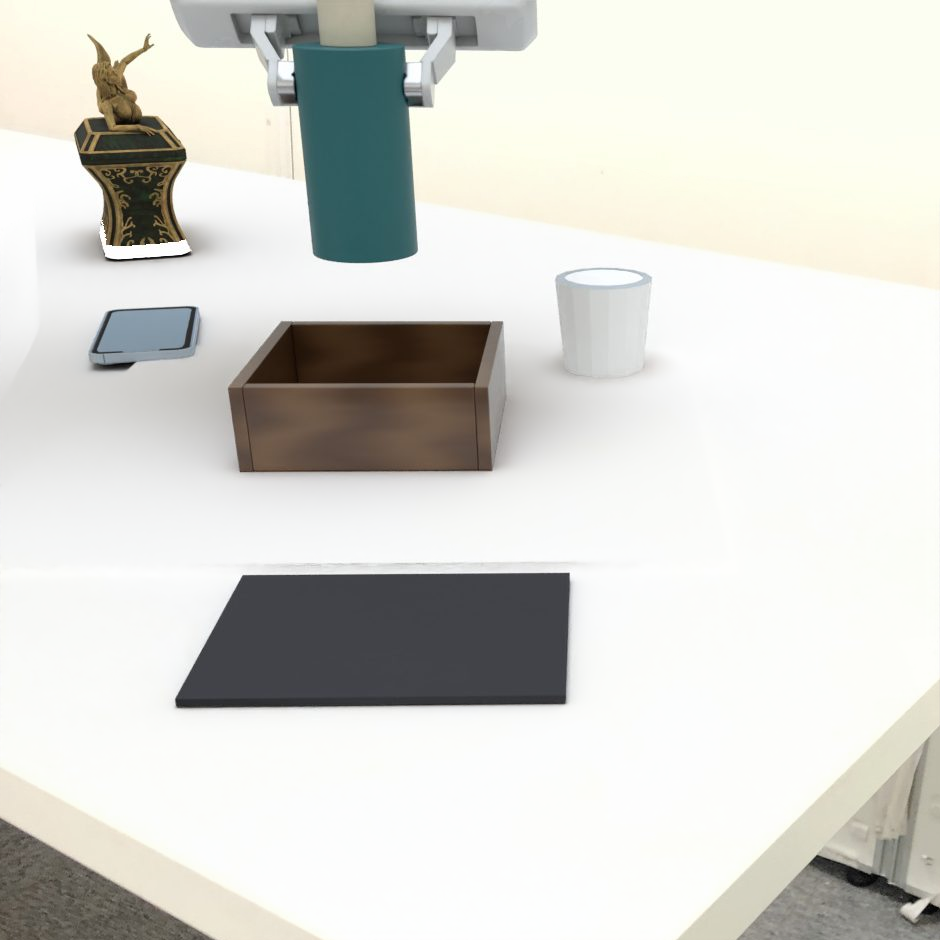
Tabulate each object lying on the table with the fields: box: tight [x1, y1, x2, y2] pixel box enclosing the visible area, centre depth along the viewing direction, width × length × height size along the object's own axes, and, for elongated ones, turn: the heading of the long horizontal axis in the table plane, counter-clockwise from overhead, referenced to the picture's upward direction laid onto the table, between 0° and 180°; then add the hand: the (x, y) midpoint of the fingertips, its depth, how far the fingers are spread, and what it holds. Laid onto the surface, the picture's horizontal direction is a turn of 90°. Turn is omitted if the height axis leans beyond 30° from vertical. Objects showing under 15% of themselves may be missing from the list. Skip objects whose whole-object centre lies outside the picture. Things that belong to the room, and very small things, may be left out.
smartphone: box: [87, 305, 201, 366], centre depth 103 cm, size 7×1×15 cm
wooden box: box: [227, 320, 507, 473], centre depth 83 cm, size 15×15×6 cm
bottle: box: [291, 0, 419, 264], centre depth 74 cm, size 6×6×14 cm
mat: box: [174, 572, 571, 708], centre depth 60 cm, size 16×12×1 cm
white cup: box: [554, 267, 653, 379], centre depth 95 cm, size 7×7×7 cm
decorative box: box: [73, 33, 188, 246], centre depth 132 cm, size 20×10×20 cm, turn 22°
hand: (352, 100), depth 73 cm, fingers closed on bottle, 6 cm apart
